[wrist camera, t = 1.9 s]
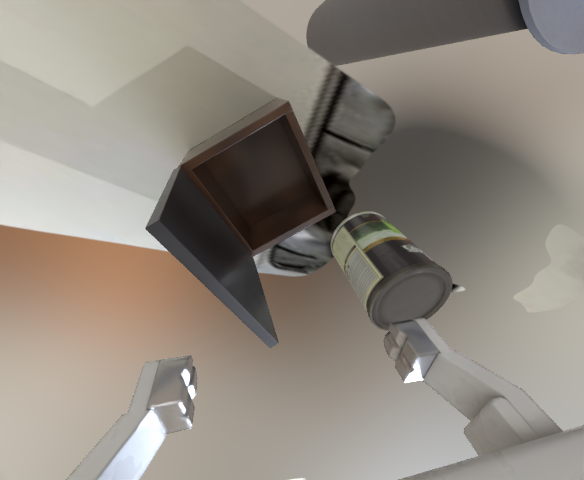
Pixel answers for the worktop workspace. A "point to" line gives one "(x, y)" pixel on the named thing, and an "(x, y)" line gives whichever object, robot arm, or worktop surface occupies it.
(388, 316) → the coffee can
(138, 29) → the worktop surface
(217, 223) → the dark grey box door
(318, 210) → the open brown box
